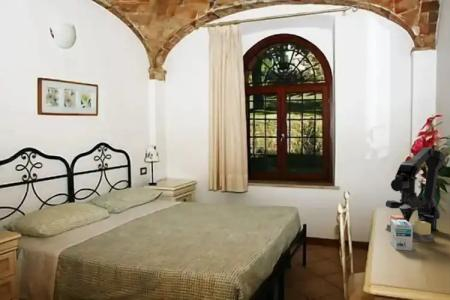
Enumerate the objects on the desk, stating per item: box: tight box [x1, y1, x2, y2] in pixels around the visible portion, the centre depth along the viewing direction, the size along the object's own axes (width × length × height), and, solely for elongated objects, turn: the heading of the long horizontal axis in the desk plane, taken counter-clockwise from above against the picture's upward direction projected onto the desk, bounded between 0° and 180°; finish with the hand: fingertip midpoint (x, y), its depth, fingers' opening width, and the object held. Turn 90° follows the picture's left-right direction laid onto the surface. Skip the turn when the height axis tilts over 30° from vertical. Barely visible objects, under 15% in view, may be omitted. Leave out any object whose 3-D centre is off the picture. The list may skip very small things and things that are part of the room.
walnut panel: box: [385, 224, 435, 243], centre depth 182 cm, size 12×21×3 cm, turn 3°
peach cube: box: [389, 214, 405, 225], centre depth 188 cm, size 5×5×5 cm
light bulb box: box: [390, 219, 413, 251], centre depth 164 cm, size 11×7×11 cm, turn 168°
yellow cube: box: [414, 221, 432, 235], centre depth 175 cm, size 5×5×5 cm
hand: (407, 222), depth 181 cm, fingers closed
